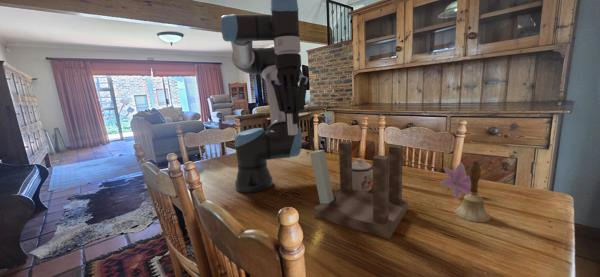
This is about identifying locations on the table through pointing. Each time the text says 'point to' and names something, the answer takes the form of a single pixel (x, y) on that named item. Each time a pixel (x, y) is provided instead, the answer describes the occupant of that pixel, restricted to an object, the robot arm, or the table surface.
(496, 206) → the table surface
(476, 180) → the hand bell
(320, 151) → the folding leg
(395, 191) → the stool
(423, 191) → the table surface
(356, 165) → the teacup with lid
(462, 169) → the lily
